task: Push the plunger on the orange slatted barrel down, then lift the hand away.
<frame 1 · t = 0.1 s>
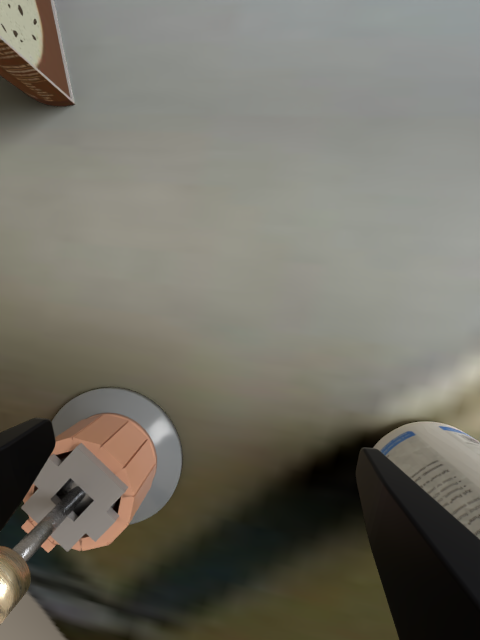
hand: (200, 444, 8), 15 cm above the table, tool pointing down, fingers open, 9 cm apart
supplement tub: (420, 472, 24), on the table
orange slatted barrel: (111, 458, 25), resting on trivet
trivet: (114, 454, 25), on the table
food container: (29, 55, 23), on the table
plunger: (40, 533, 17), point 9 cm above the table, slide at 0.0 cm
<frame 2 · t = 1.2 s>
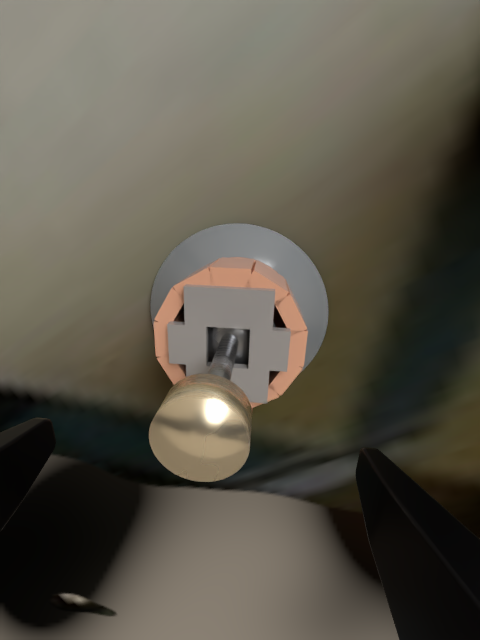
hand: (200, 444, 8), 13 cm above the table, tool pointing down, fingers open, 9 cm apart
orange slatted barrel: (237, 317, 20), resting on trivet
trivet: (238, 314, 20), on the table
plunger: (219, 375, 12), point 9 cm above the table, slide at 0.0 cm
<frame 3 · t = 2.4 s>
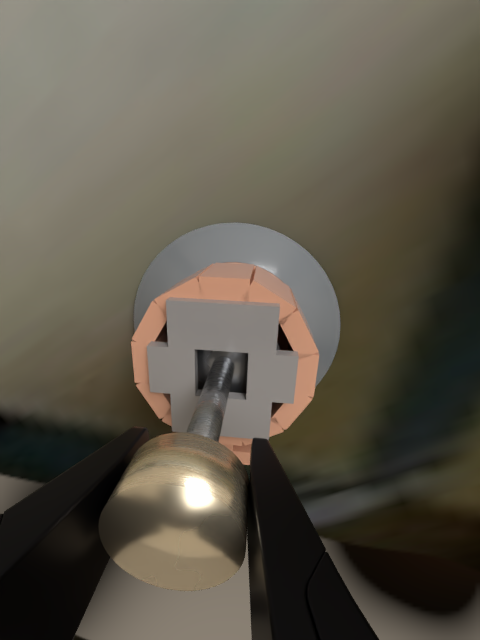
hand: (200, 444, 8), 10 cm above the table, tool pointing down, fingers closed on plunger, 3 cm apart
orange slatted barrel: (234, 331, 17), resting on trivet
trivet: (235, 327, 18), on the table
plunger: (208, 417, 10), point 8 cm above the table, slide at 0.0 cm, touching gripper
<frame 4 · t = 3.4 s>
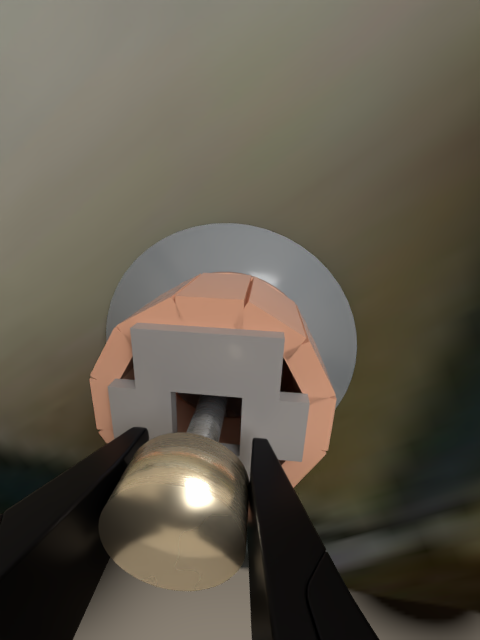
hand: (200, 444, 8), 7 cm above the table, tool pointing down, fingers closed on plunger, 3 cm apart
orange slatted barrel: (227, 354, 14), resting on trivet
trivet: (228, 349, 15), on the table
plunger: (208, 417, 10), point 5 cm above the table, slide at 3.1 cm, touching gripper
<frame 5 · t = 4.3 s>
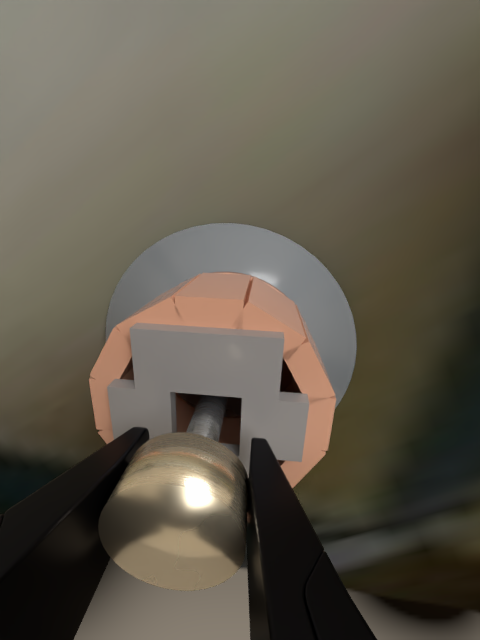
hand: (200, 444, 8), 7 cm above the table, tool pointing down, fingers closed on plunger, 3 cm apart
orange slatted barrel: (226, 354, 14), resting on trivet
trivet: (228, 349, 15), on the table
plunger: (207, 417, 10), point 5 cm above the table, slide at 3.2 cm, touching gripper
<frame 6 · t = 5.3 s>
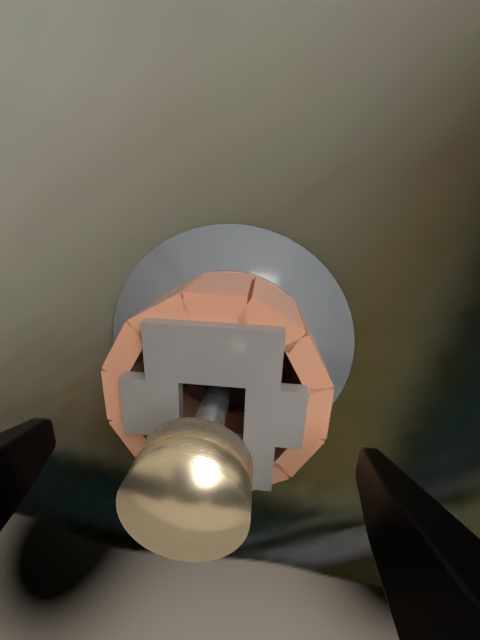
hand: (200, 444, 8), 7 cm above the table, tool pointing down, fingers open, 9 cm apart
orange slatted barrel: (229, 350, 15), resting on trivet
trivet: (231, 345, 15), on the table
plunger: (213, 407, 10), point 5 cm above the table, slide at 3.2 cm
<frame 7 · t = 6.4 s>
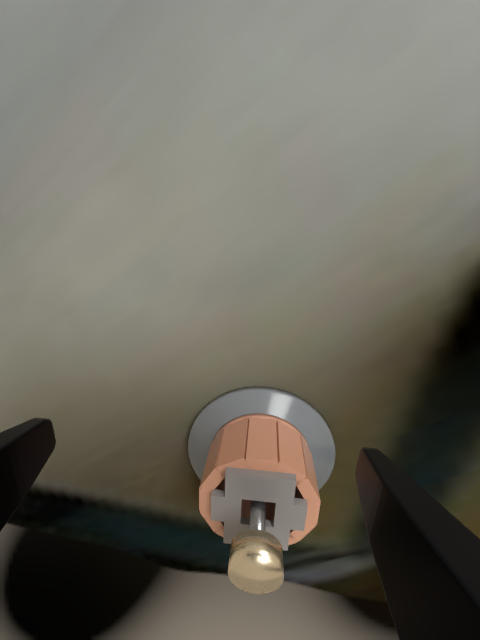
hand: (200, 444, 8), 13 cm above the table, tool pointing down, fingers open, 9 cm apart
orange slatted barrel: (259, 454, 24), resting on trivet
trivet: (260, 449, 24), on the table
plunger: (257, 508, 19), point 5 cm above the table, slide at 3.2 cm
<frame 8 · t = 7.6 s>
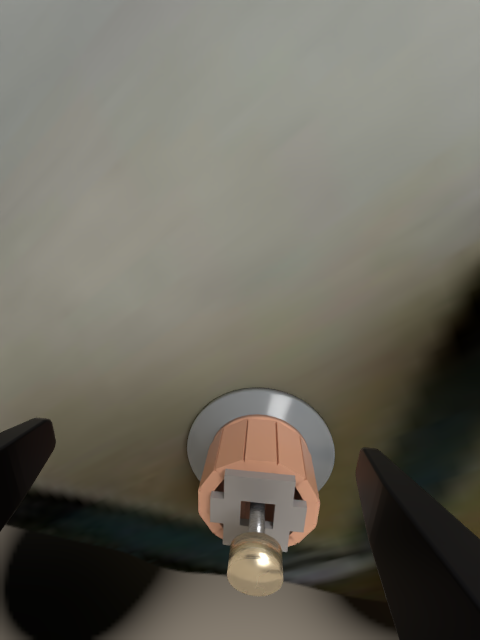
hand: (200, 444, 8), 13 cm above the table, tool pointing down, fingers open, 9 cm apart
orange slatted barrel: (259, 455, 24), resting on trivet
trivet: (259, 450, 24), on the table
plunger: (257, 510, 19), point 5 cm above the table, slide at 3.2 cm
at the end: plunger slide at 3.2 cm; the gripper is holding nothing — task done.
